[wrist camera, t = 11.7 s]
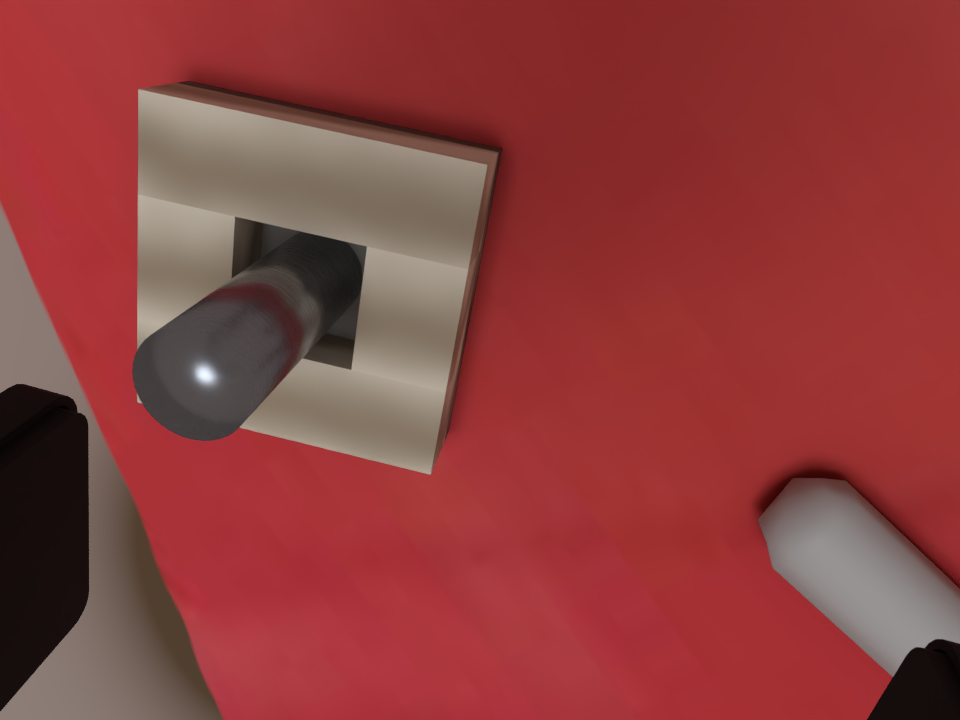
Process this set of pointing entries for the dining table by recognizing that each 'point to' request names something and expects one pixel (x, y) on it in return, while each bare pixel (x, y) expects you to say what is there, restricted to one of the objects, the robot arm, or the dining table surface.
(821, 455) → the dining table surface
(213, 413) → the steel peg
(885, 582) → the tube
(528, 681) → the dining table surface
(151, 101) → the socket block
